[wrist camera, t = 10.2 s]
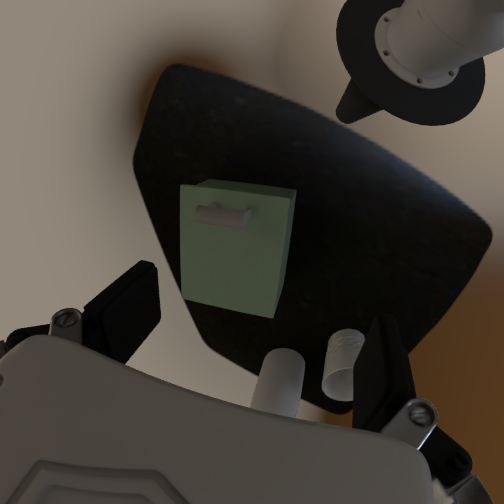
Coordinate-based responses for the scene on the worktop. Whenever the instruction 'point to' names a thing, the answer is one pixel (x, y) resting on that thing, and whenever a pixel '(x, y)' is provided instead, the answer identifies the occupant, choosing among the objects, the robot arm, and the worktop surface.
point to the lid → (232, 247)
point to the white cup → (341, 364)
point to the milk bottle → (280, 383)
